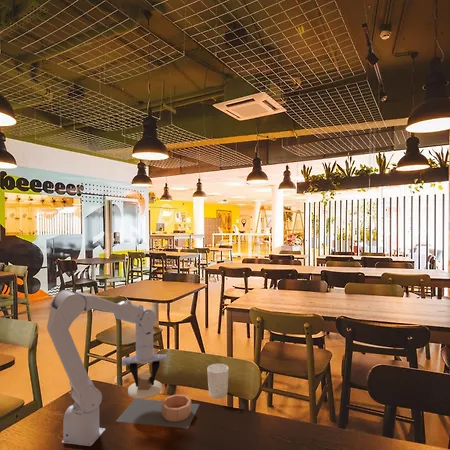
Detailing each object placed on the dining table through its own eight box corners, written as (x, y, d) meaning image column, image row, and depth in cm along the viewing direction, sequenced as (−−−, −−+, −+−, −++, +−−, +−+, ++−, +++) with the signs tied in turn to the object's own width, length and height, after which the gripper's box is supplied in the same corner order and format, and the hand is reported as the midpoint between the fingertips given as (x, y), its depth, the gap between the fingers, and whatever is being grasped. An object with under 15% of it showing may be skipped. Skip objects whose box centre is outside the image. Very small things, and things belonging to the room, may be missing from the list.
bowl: (158, 420, 105) (158, 408, 105) (168, 405, 114) (168, 393, 114) (185, 423, 103) (185, 410, 103) (193, 407, 112) (193, 395, 112)
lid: (122, 397, 106) (121, 383, 106) (136, 381, 117) (136, 368, 117) (154, 399, 104) (154, 385, 104) (166, 383, 115) (166, 370, 115)
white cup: (215, 403, 116) (215, 374, 116) (203, 394, 122) (203, 367, 122) (233, 396, 121) (232, 368, 121) (220, 387, 127) (220, 361, 127)
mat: (115, 422, 105) (115, 421, 105) (135, 400, 119) (135, 398, 119) (188, 430, 101) (188, 428, 101) (199, 405, 114) (199, 404, 114)
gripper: (120, 350, 105) (121, 392, 105) (166, 346, 108) (167, 387, 108) (123, 342, 112) (123, 382, 112) (166, 339, 115) (166, 378, 115)
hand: (145, 384), depth 110 cm, fingers closed on lid, 4 cm apart
